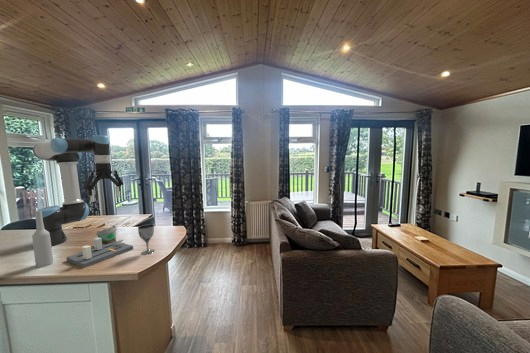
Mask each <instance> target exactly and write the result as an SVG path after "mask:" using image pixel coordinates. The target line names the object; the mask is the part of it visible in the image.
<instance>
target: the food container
mask: <svg viewBox="0 0 530 353" xmlns="http://www.w3.org/2000/svg"><path fill="white" fill-rule="evenodd" d="M117 230H118V228H117V227H116V225H112V226H111V227H108V228H105V229H103V230H97V231H96V235H97V238H98V237H99V238H102V246H103V245H106V244H109V243H112V242H115V241H116V240H117V232H116V231H117Z"/></svg>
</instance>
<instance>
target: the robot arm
mask: <svg viewBox="0 0 530 353" xmlns="http://www.w3.org/2000/svg"><path fill="white" fill-rule="evenodd" d="M110 149H111V148H110V140H109V136H108V135H105V134H103V135H100V134H99V135H98V134H97V135H95V134H94V135H92V139H90V138H89V139H83V138H63V137H62V138H61V137H60V138H59V137H58V138H57V137H56V138H51V141H50V142H40V143H37V144H35V145H34V146H33V148H32V153H33V155H34V156H35V157H36V158H37V159H40V160H43V161H49V162H51V161H52V162H56V163H55V164H56V165H58V166H59V169H60V176H61V182H62V190H63V197H64V198H63V199H64V201H63V202H62V203H61V206H59V205H51V206H46V207H43V208H42V207H41V208H40V209H37V210H36V211H42V218H43V224H44V229H45V230H47V231H48V232H49V233H50V240H51V247H53V246H58V245H60V244H62V243H63V244H64V243H65V242H67V241H66V240H68V238H67V235H66V233H65V232H64V230H63V225H67V224H71V223H75V222H80V221H83V220H86V219H87V218H88V217H89V213H90V207H89V205H88V203H85V201H84V199H82V197H81V191H80V182H79V176H78V168H77V164H79V163H80V162H79V161H80V160H81V159H82V156H83V155H82V153H93V158H94V159H93V160H94V168H95V170H94V171H95V172H94V171H89V172H88V176H87V179H86V181H85V184H84V186H83V190H87V192H88V193H87V194H88V196H89V197H90V202H94V203H95V202H96V199H95V190H94V187H95V186H96V185H98V184H97V183H98V182H99V181H101V180H105V179H106V180H108V179H109V180H110V181H111V182H112V183H113V184H114V190H115V192H114V193H115V198H120V196H121V194H120V192H121V187H122V186H123V185H124V182H123V180H122V178H121V177H120V175H119V174H118V171H117V170H116V169H115V170H114V169H113V170H112V164H111V151H110ZM112 175H113V176H112ZM94 177H95V178H94ZM34 220H36V217H35V218H34ZM57 244H58V245H57Z"/></svg>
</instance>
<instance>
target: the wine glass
mask: <svg viewBox="0 0 530 353" xmlns="http://www.w3.org/2000/svg"><path fill="white" fill-rule="evenodd" d="M154 233H155V225H154V224H150V223H148V224H143V225H140V226H138V227H137V234H138V236H139V238H140V239H142V240H143V241H144V242H145V243H146V244H145V245H146V250H144V251H142V252H140V255H142V256H146V255H147V254H148V255H151V253H152V254H154V253H155V252H156V250H155V249H150V248H149V244H150V243H149V242H150V241H151V239H152V238H153V236H154ZM154 251H155V252H154ZM153 252H154V253H153Z"/></svg>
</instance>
